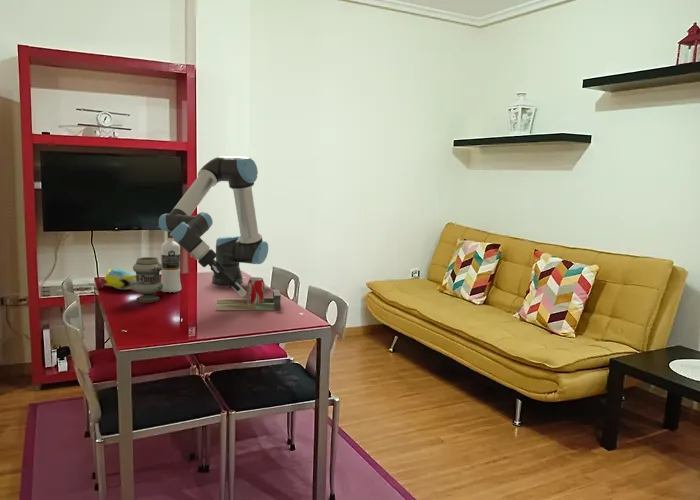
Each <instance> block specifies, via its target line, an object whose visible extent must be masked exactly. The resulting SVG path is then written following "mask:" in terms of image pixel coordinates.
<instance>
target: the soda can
mask: <svg viewBox="0 0 700 500" xmlns="http://www.w3.org/2000/svg"><path fill="white" fill-rule="evenodd" d="M246 292H247V294H246V296H247V297H246V299H247V304H256V303H264V297H265V281H264V278H263V277H258V276H256V277H249V278H248V281H247V290H246Z"/></svg>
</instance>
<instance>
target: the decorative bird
mask: <svg viewBox="0 0 700 500" xmlns="http://www.w3.org/2000/svg"><path fill="white" fill-rule="evenodd" d="M98 278H99V279H98V281H99V282H100V284H101V285H100V287H101V288H102V289H104V288H103V287H104V286H109V287H113V288H114V289H117V290H122V291H123V290H125V291H126V290H134V289H133V285H134V284H135V283H136V274H134V273H132V272H129V271H127V270H124V269H122V268H119V267H115V268H114V267H113V268H112V269H111V267H109V269H108V272H107V274H106V275H105V276H104V277H100V276H98ZM101 280H105V282H106V283H102V281H101Z"/></svg>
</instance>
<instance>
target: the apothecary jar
mask: <svg viewBox="0 0 700 500" xmlns="http://www.w3.org/2000/svg"><path fill="white" fill-rule="evenodd" d="M132 269H133V271H134V272H135V275H136V283H135V284H134V285H133V289H132V290H133V291H134V292H136V293H137V294H141V295H140V296H138V297H136V299H135V300H136V302H139V303H154V301H155V302H159V301H161V297H160V296H157V295H155V294H157V293H159V292H162V291H161V290H162V289H163V284H162V283H161V275H160V272H161V270H162V263H160V261H159V258H158V257H154V256H146V257H145V256H144V257H143V256H141V257H138V258H137V259H136V262H135V263H134V264H133V266H132ZM158 300H159V301H158Z"/></svg>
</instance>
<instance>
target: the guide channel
mask: <svg viewBox="0 0 700 500" xmlns="http://www.w3.org/2000/svg"><path fill="white" fill-rule="evenodd" d="M281 299H282V298H281V292H280V289H273V290H272V297H265V296H264V303H256V304H247V298H217V299H216V304H215V311H277V310H276V309H280V310H281Z"/></svg>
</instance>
